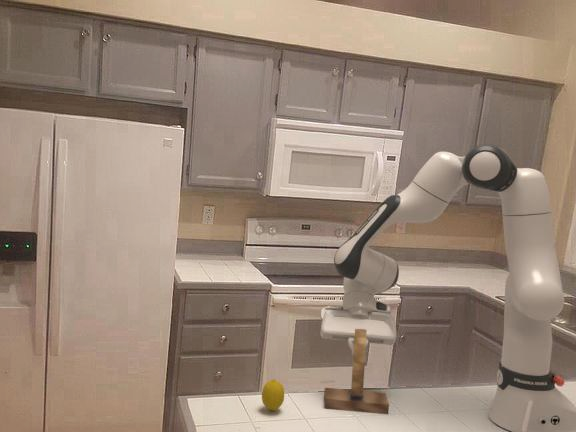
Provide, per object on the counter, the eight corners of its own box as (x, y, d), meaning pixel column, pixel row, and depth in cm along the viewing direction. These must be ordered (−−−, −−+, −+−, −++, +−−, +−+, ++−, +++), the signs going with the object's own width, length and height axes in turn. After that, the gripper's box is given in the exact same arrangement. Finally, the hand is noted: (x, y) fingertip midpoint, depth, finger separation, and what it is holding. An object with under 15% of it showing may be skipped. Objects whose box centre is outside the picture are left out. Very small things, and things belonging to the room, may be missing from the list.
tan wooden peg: (362, 396, 134) (365, 329, 136) (363, 399, 131) (367, 330, 133) (350, 395, 134) (354, 328, 137) (351, 398, 131) (355, 329, 134)
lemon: (280, 417, 126) (282, 385, 125) (258, 414, 127) (260, 382, 126) (285, 407, 131) (287, 376, 130) (263, 404, 132) (265, 373, 131)
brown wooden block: (384, 402, 138) (385, 392, 138) (388, 414, 131) (389, 403, 131) (324, 396, 139) (324, 386, 139) (324, 408, 132) (325, 398, 132)
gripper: (321, 299, 143) (318, 346, 135) (396, 306, 142) (398, 354, 133) (320, 311, 148) (317, 357, 139) (393, 317, 147) (394, 364, 138)
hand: (357, 355), depth 136 cm, fingers closed, pressing on tan wooden peg
